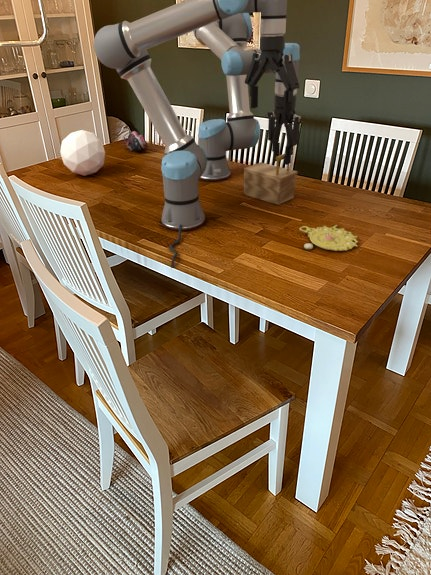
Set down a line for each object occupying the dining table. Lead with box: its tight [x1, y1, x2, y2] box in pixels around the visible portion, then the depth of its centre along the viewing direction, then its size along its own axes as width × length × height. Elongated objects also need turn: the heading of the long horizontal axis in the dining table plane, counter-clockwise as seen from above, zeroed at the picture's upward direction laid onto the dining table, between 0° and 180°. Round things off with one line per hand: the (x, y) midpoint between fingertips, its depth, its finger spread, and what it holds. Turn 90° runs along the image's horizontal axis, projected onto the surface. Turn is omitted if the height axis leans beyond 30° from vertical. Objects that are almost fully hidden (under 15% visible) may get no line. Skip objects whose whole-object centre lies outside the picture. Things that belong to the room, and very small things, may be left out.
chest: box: [243, 170, 297, 206], centre depth 172 cm, size 17×10×10 cm, turn 45°
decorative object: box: [299, 224, 359, 252], centre depth 141 cm, size 21×2×20 cm
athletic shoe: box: [121, 130, 149, 153], centre depth 234 cm, size 11×22×12 cm
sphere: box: [59, 129, 106, 177], centre depth 200 cm, size 19×20×20 cm
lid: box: [243, 153, 299, 181], centre depth 167 cm, size 18×10×8 cm, turn 45°
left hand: (269, 110), depth 144 cm, fingers open, 13 cm apart
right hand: (281, 162), depth 164 cm, fingers open, 5 cm apart
